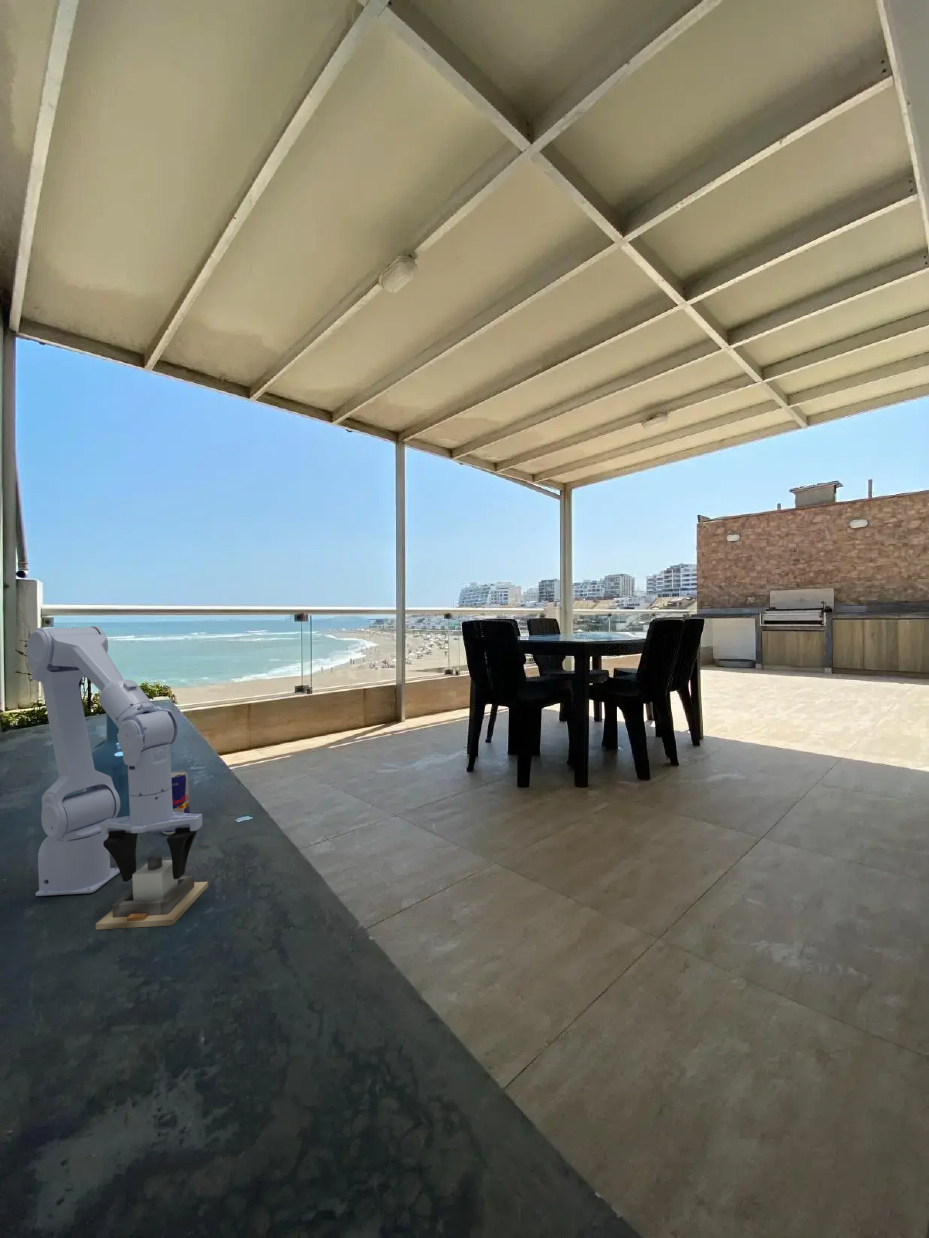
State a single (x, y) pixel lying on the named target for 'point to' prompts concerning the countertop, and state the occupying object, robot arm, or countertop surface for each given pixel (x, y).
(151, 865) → the plug
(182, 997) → the countertop surface
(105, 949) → the countertop surface
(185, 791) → the energy drink
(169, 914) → the socket
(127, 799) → the blue bottle
